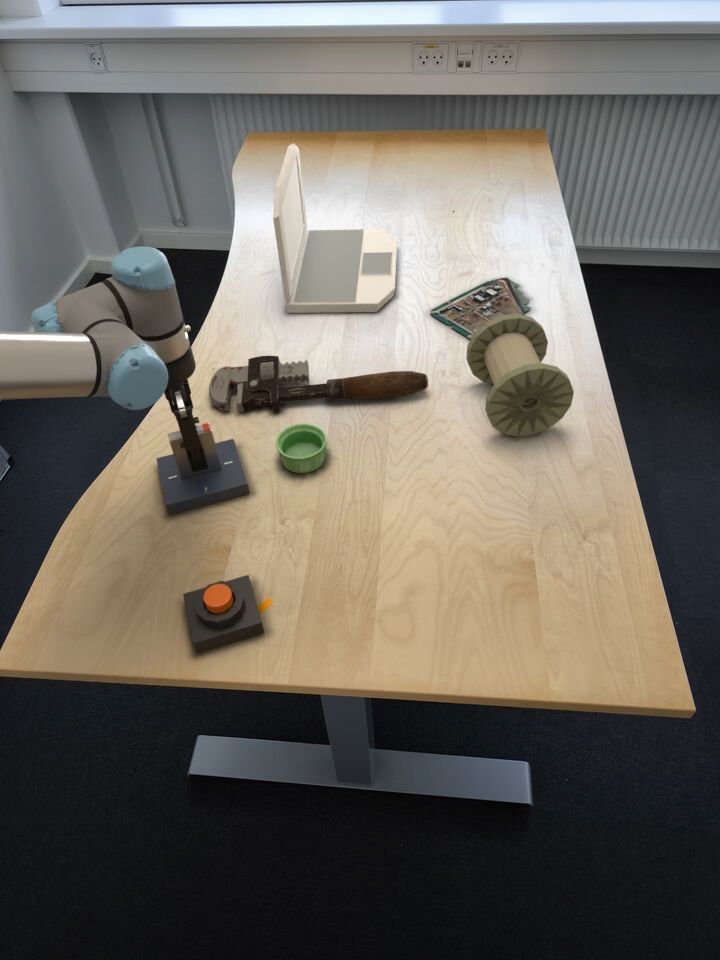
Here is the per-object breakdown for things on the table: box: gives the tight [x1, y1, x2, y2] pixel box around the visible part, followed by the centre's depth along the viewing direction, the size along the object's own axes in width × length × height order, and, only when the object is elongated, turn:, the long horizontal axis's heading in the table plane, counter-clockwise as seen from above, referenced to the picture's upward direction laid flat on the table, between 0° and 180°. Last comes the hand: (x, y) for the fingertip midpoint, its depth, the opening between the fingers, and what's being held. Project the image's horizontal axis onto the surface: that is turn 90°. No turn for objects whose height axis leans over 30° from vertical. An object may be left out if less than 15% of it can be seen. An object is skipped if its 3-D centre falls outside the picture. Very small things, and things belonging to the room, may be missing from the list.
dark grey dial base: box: [156, 438, 251, 516], centre depth 128 cm, size 14×12×3 cm
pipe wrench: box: [208, 355, 429, 413], centre depth 143 cm, size 43×13×5 cm, turn 93°
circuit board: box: [429, 276, 532, 340], centre depth 161 cm, size 23×15×1 cm, turn 128°
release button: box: [204, 584, 233, 614], centre depth 105 cm, size 4×4×2 cm
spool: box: [465, 313, 575, 438], centre depth 133 cm, size 16×15×15 cm
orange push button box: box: [182, 574, 265, 654], centre depth 107 cm, size 10×9×4 cm
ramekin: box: [275, 423, 328, 474], centre depth 130 cm, size 9×9×4 cm
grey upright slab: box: [167, 422, 222, 479], centre depth 124 cm, size 7×2×9 cm, turn 108°
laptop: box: [272, 143, 398, 314], centre depth 165 cm, size 33×24×26 cm
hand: (198, 462), depth 126 cm, fingers open, 3 cm apart
